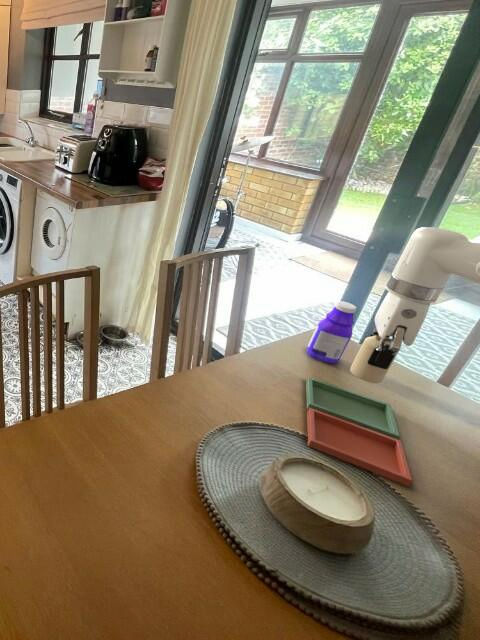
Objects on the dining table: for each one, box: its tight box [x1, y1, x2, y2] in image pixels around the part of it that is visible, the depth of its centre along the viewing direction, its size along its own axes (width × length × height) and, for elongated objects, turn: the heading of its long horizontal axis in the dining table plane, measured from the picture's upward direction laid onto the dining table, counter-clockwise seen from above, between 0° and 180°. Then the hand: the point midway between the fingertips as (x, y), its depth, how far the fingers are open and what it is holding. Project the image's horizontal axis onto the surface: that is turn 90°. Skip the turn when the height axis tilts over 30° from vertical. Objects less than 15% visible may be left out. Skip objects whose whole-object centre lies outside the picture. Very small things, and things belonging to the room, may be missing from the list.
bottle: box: [306, 300, 357, 364], centre depth 112 cm, size 7×6×17 cm
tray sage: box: [305, 376, 400, 440], centre depth 97 cm, size 16×12×2 cm
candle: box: [349, 335, 400, 384], centre depth 91 cm, size 6×6×10 cm
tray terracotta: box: [306, 408, 413, 487], centre depth 87 cm, size 16×12×2 cm
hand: (375, 358), depth 91 cm, fingers closed on candle, 5 cm apart
